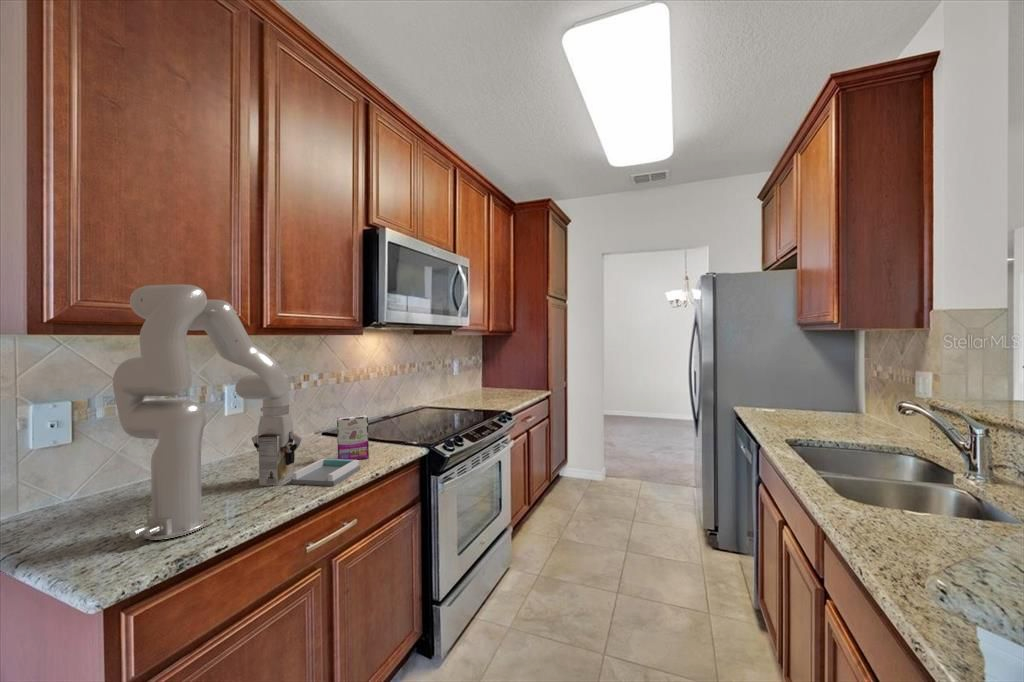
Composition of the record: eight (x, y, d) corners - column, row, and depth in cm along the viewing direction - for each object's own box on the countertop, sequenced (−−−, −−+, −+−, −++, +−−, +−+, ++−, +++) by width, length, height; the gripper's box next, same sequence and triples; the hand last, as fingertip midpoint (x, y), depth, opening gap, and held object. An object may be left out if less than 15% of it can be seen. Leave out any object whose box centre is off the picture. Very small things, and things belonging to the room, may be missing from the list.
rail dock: (334, 486, 128) (333, 475, 128) (290, 483, 131) (290, 473, 131) (360, 469, 144) (360, 459, 144) (321, 468, 146) (321, 458, 146)
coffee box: (275, 476, 138) (275, 429, 138) (294, 476, 138) (293, 429, 138) (258, 486, 129) (257, 435, 129) (278, 486, 129) (277, 435, 129)
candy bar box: (367, 455, 162) (367, 414, 162) (369, 458, 158) (368, 416, 157) (337, 459, 157) (336, 416, 157) (337, 462, 153) (337, 419, 153)
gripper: (243, 412, 131) (244, 465, 131) (292, 413, 128) (293, 468, 129) (261, 408, 138) (261, 459, 139) (307, 409, 136) (308, 460, 136)
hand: (276, 463), depth 134 cm, fingers open, 9 cm apart
